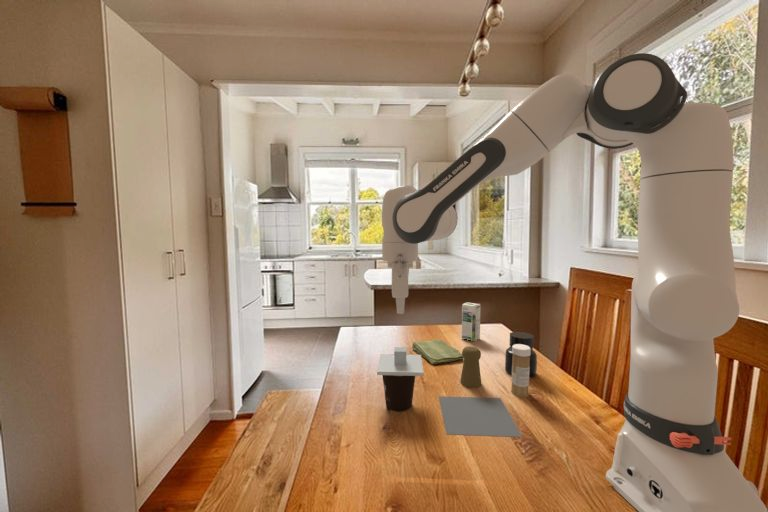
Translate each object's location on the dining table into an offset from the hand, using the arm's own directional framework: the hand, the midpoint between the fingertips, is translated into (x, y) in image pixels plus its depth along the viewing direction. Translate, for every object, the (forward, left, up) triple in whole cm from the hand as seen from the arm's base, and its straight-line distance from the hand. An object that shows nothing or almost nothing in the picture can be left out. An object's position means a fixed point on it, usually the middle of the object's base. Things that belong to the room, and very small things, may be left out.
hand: (400, 308), depth 81 cm
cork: (+11, -20, -25) cm, 34 cm away
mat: (-5, -18, -25) cm, 31 cm away
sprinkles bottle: (+6, -32, -25) cm, 41 cm away
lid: (0, 0, -15) cm, 15 cm away
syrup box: (+51, -28, -25) cm, 63 cm away
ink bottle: (+20, -37, -25) cm, 49 cm away
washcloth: (+34, -13, -25) cm, 44 cm away
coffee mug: (0, 0, -25) cm, 25 cm away
